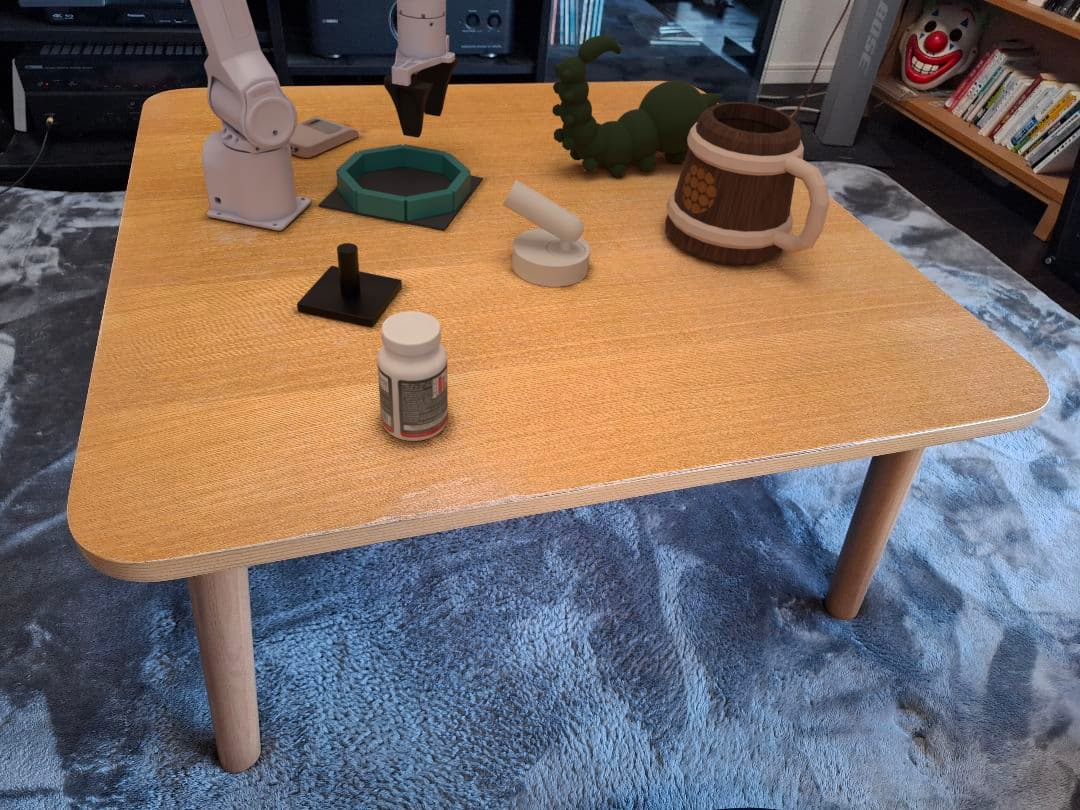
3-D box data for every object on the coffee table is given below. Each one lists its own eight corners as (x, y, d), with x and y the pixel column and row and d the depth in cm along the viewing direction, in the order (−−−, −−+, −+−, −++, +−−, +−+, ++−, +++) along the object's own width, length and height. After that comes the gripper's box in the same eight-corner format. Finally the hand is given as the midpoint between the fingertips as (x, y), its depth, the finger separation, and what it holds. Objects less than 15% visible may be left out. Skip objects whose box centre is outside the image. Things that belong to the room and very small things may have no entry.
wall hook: (513, 163, 95) (602, 177, 94) (509, 240, 101) (593, 254, 100) (494, 196, 88) (590, 211, 87) (491, 277, 94) (581, 292, 93)
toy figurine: (572, 201, 114) (733, 165, 121) (575, 55, 101) (754, 25, 108) (543, 171, 120) (698, 139, 127) (542, 31, 107) (714, 3, 115)
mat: (318, 206, 104) (318, 204, 104) (368, 158, 115) (368, 156, 115) (444, 230, 101) (444, 228, 101) (482, 179, 113) (482, 177, 113)
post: (297, 311, 86) (290, 259, 83) (331, 273, 92) (327, 222, 89) (372, 327, 85) (369, 275, 81) (402, 287, 91) (400, 236, 87)
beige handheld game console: (368, 133, 122) (367, 112, 120) (286, 168, 111) (284, 146, 109) (332, 121, 124) (331, 100, 122) (250, 154, 114) (246, 132, 112)
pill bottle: (457, 411, 76) (459, 317, 70) (431, 451, 72) (429, 355, 66) (399, 394, 77) (395, 301, 71) (369, 432, 73) (362, 337, 67)
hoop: (320, 205, 103) (318, 185, 102) (371, 156, 115) (370, 137, 114) (442, 228, 101) (442, 208, 100) (481, 176, 113) (482, 157, 111)
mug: (636, 228, 105) (655, 107, 96) (718, 199, 113) (743, 85, 104) (762, 303, 94) (798, 174, 85) (843, 265, 102) (885, 143, 92)
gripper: (432, 33, 95) (432, 151, 104) (472, 2, 106) (470, 110, 115) (372, 23, 96) (377, 141, 105) (418, -7, 107) (420, 102, 116)
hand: (422, 124), depth 110 cm, fingers open, 7 cm apart
